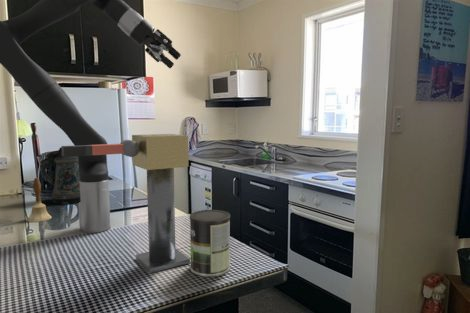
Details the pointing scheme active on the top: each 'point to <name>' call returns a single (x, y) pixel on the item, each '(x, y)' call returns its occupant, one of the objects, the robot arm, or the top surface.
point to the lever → (102, 149)
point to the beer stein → (63, 177)
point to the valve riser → (161, 197)
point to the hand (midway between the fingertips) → (175, 62)
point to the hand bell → (38, 206)
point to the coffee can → (210, 242)
